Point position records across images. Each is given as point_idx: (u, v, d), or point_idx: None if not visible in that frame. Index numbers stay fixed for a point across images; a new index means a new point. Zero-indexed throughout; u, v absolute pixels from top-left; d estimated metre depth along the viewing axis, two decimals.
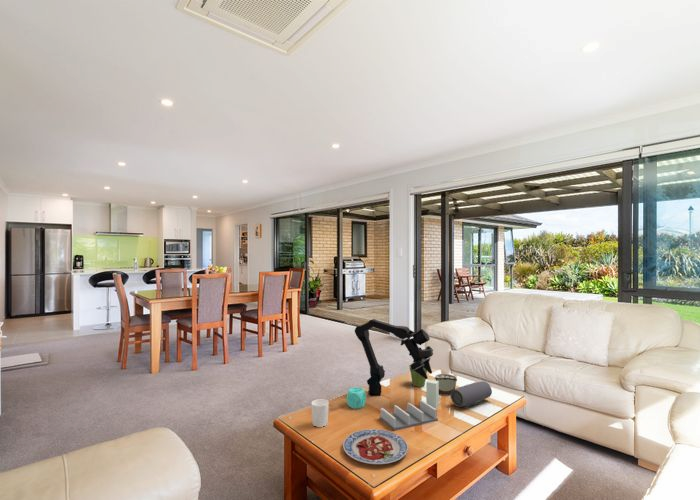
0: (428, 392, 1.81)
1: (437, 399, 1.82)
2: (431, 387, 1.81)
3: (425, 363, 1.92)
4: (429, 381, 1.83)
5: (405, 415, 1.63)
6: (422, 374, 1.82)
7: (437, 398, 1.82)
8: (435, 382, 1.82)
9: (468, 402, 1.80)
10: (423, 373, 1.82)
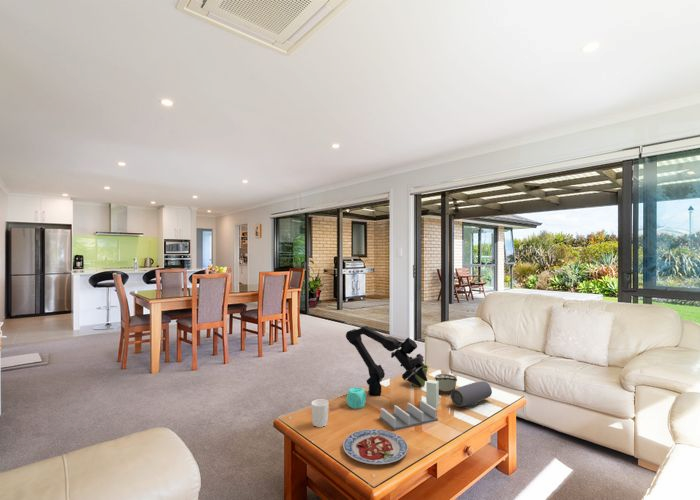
0: (428, 392, 1.81)
1: (437, 399, 1.82)
2: (431, 387, 1.81)
3: (419, 372, 1.92)
4: (429, 381, 1.83)
5: (405, 415, 1.63)
6: (415, 382, 1.82)
7: (437, 398, 1.82)
8: (435, 382, 1.82)
9: (468, 402, 1.80)
10: (416, 381, 1.81)
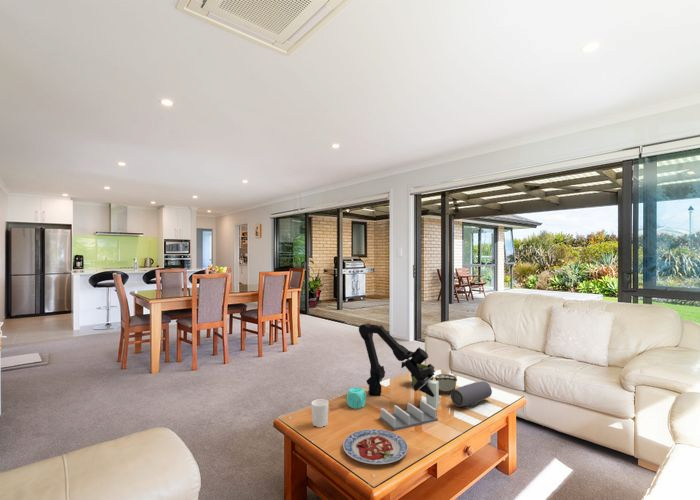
0: None
1: (437, 399, 1.82)
2: (431, 387, 1.81)
3: None
4: (429, 381, 1.83)
5: (405, 415, 1.63)
6: (428, 392, 1.80)
7: (437, 398, 1.82)
8: (435, 382, 1.82)
9: (468, 402, 1.80)
10: (428, 391, 1.80)
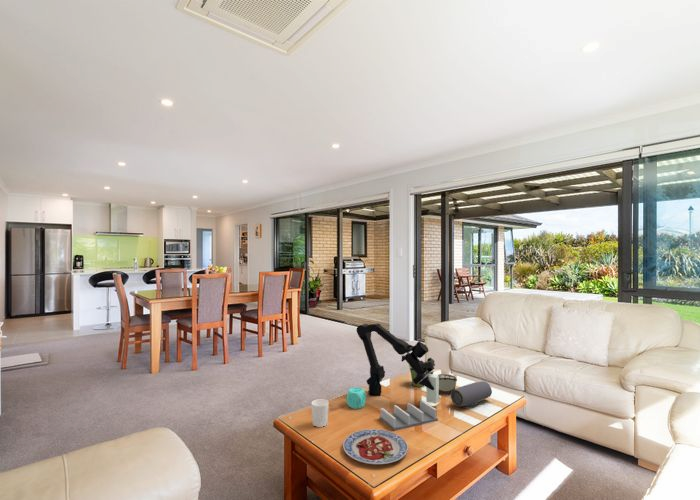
0: None
1: (437, 393, 1.82)
2: (431, 381, 1.81)
3: None
4: (429, 375, 1.83)
5: (405, 415, 1.63)
6: (428, 386, 1.80)
7: (437, 392, 1.82)
8: (435, 376, 1.82)
9: (468, 402, 1.80)
10: (429, 385, 1.80)
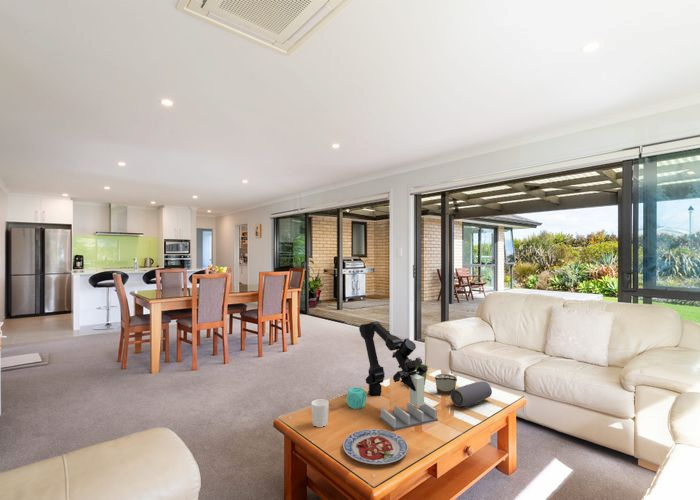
0: None
1: (421, 396, 1.70)
2: (414, 382, 1.70)
3: None
4: (414, 376, 1.73)
5: (405, 415, 1.63)
6: (410, 386, 1.71)
7: (422, 395, 1.70)
8: (419, 377, 1.70)
9: (468, 402, 1.80)
10: (410, 384, 1.70)
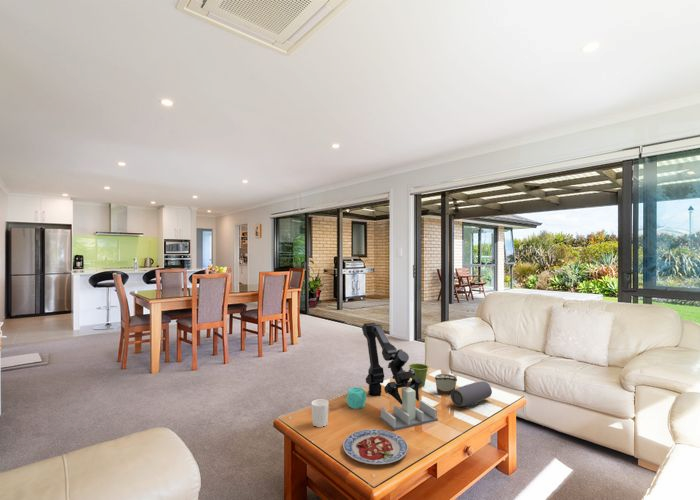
0: (403, 399, 1.69)
1: (411, 410, 1.67)
2: (404, 395, 1.68)
3: (414, 389, 1.73)
4: (405, 388, 1.70)
5: (405, 415, 1.63)
6: (397, 398, 1.67)
7: (413, 409, 1.67)
8: (410, 391, 1.67)
9: (468, 402, 1.80)
10: (397, 397, 1.67)
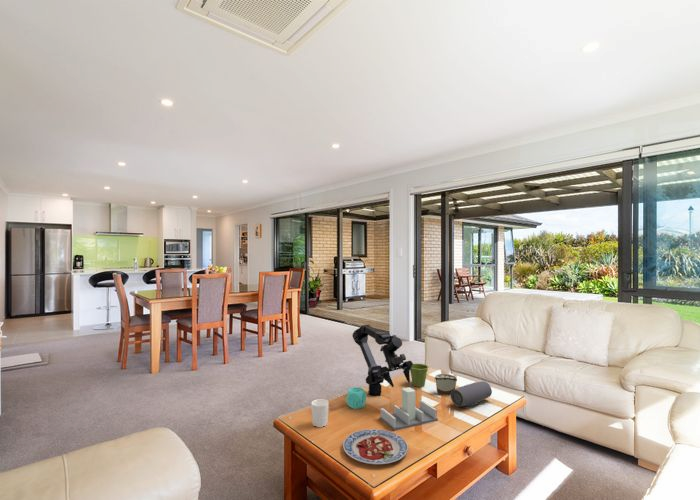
0: (403, 399, 1.69)
1: (411, 410, 1.67)
2: (404, 395, 1.68)
3: (405, 371, 1.84)
4: (405, 388, 1.70)
5: (405, 415, 1.63)
6: (388, 382, 1.78)
7: (413, 409, 1.67)
8: (410, 391, 1.67)
9: (468, 402, 1.80)
10: (389, 381, 1.78)
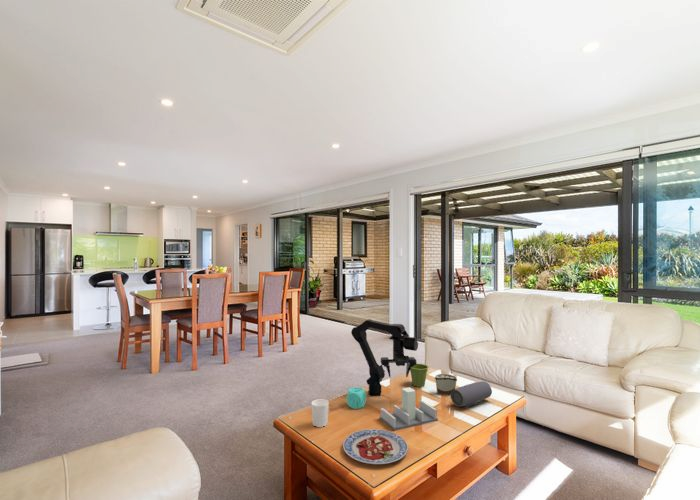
0: (403, 399, 1.69)
1: (411, 410, 1.67)
2: (404, 395, 1.68)
3: (407, 366, 1.93)
4: (405, 388, 1.70)
5: (405, 415, 1.63)
6: None
7: (413, 409, 1.67)
8: (410, 391, 1.67)
9: (468, 402, 1.80)
10: None
